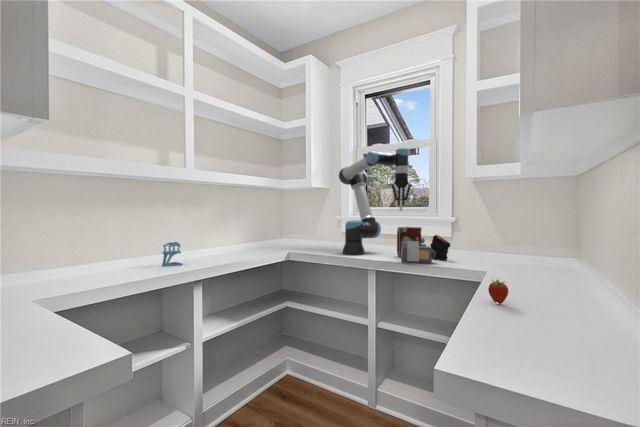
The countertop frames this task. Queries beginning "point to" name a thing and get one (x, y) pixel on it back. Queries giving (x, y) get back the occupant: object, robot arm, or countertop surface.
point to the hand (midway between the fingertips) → (400, 210)
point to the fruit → (498, 291)
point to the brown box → (408, 237)
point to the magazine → (440, 248)
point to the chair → (171, 254)
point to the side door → (412, 250)
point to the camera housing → (424, 255)
